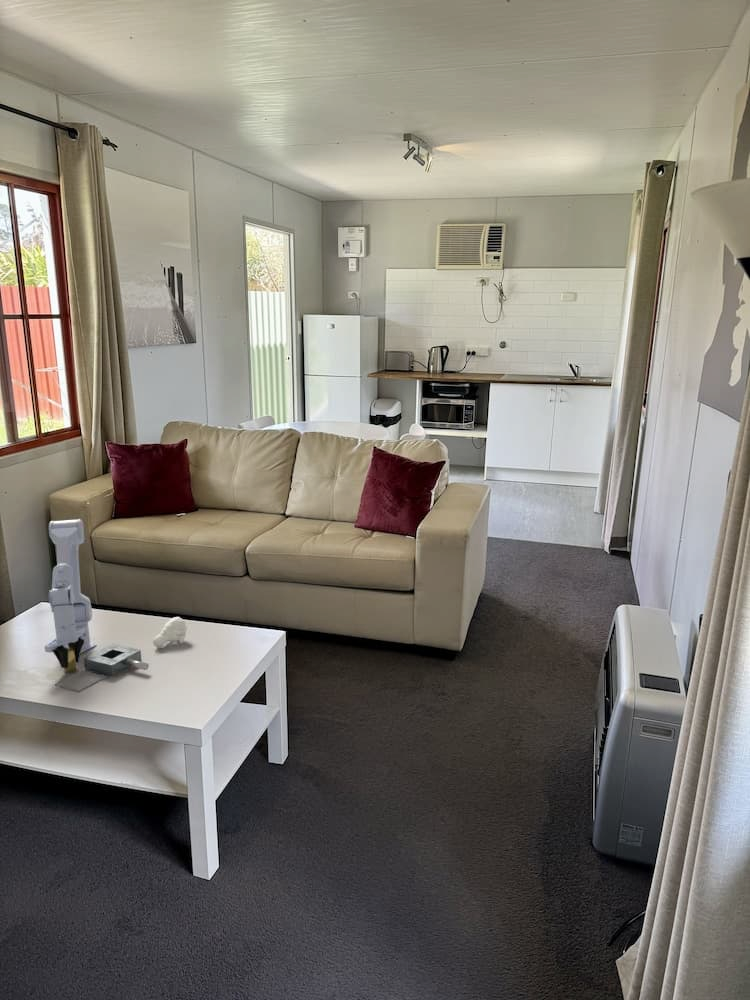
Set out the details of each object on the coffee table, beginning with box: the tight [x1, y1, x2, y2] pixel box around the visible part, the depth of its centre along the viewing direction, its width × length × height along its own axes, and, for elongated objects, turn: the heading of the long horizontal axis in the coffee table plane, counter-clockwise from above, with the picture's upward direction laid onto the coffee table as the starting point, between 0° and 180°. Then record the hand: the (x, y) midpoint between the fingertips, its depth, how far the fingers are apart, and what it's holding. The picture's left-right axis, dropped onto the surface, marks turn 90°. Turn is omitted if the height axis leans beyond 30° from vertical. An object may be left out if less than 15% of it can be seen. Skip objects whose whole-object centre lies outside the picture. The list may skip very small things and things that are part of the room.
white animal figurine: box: [152, 616, 188, 650], centre depth 235 cm, size 6×8×12 cm
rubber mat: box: [54, 669, 107, 693], centre depth 211 cm, size 10×10×1 cm
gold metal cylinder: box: [63, 647, 78, 674], centre depth 217 cm, size 4×4×7 cm
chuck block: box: [83, 643, 149, 678], centre depth 219 cm, size 20×12×4 cm, turn 64°
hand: (69, 664), depth 218 cm, fingers closed on gold metal cylinder, 4 cm apart
